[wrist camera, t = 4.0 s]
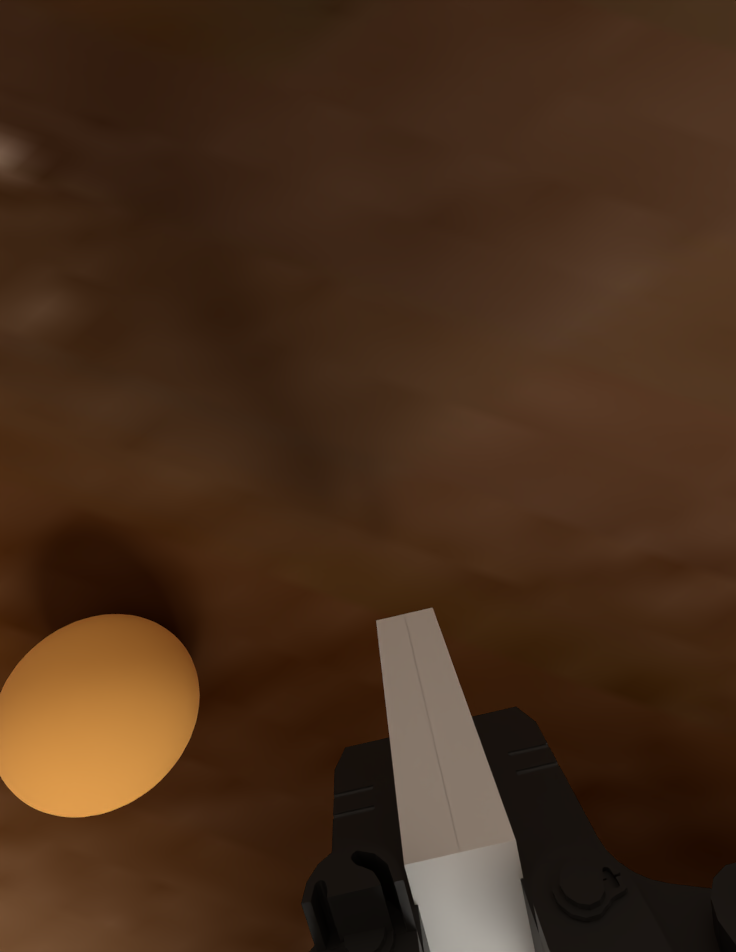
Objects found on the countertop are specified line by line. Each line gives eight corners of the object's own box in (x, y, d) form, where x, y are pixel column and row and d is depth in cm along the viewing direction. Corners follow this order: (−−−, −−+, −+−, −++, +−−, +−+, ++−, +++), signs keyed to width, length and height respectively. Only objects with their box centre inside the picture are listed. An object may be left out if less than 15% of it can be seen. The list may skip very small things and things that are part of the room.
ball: (193, 570, 17) (123, 656, 12) (237, 707, 18) (190, 843, 13) (39, 605, 17) (-101, 708, 12) (91, 741, 18) (-15, 890, 13)
